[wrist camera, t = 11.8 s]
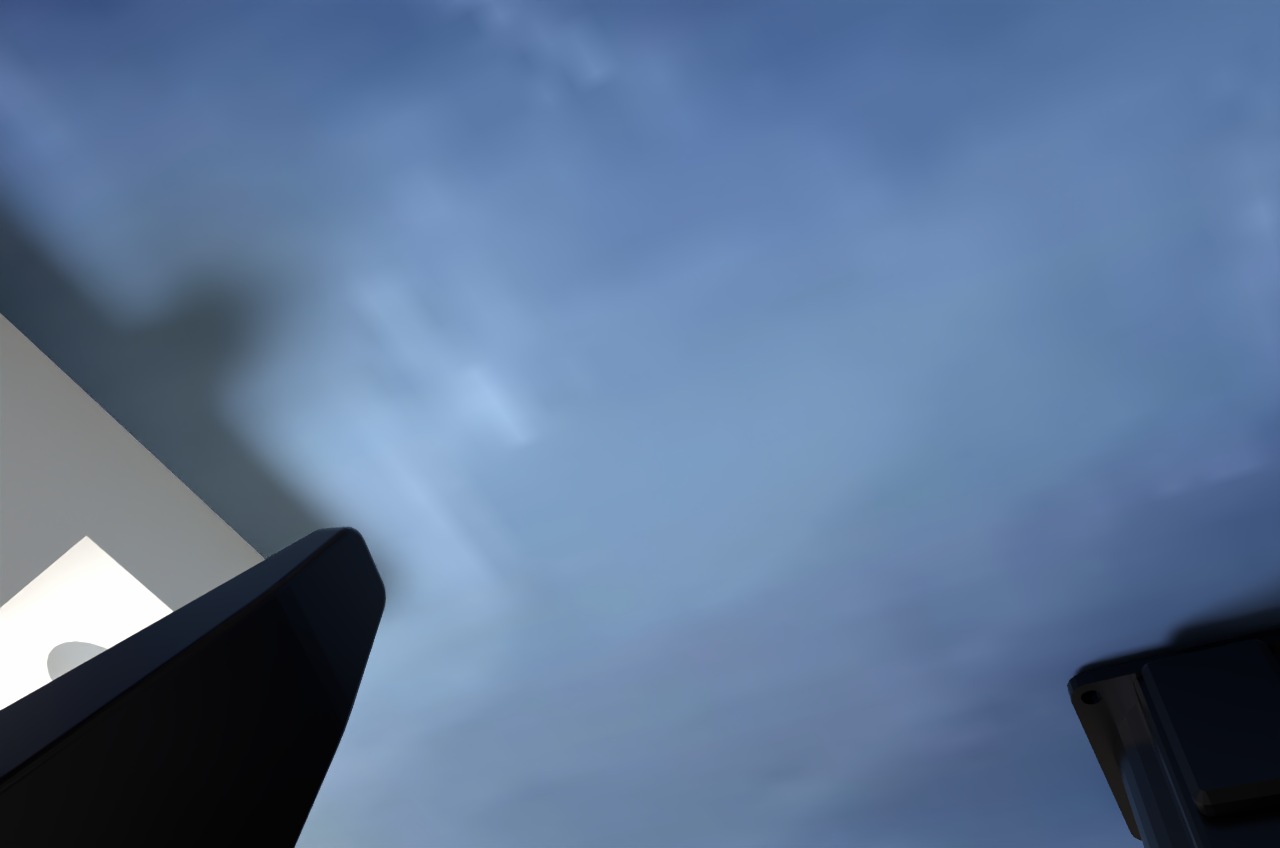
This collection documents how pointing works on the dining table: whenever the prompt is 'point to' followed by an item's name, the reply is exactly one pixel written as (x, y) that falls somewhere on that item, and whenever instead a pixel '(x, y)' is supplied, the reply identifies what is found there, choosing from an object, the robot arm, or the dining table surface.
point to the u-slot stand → (88, 527)
